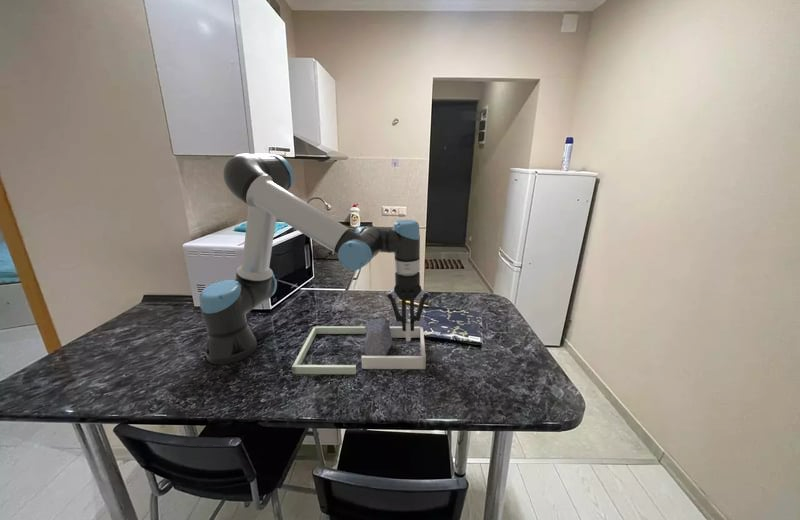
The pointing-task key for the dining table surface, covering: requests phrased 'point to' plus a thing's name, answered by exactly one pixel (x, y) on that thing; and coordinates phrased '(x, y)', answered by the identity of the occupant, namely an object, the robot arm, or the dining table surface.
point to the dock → (398, 361)
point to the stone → (378, 337)
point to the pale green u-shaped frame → (325, 369)
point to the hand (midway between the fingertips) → (408, 338)
